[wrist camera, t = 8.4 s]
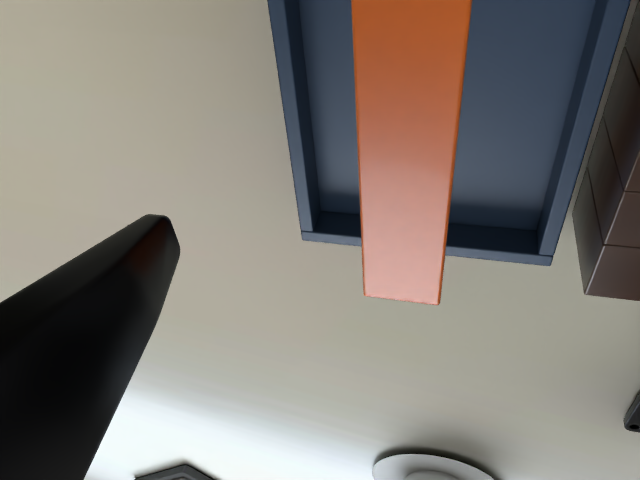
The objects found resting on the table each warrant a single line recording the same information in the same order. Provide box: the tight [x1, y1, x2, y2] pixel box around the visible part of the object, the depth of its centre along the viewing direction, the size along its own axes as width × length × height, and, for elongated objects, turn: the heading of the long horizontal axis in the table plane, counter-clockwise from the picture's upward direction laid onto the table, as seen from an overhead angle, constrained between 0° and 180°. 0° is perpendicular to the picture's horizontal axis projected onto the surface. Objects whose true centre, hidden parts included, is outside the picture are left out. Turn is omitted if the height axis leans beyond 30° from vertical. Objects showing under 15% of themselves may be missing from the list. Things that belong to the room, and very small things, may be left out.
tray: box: [267, 0, 631, 266], centre depth 17 cm, size 19×11×2 cm, turn 5°
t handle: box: [351, 0, 472, 305], centre depth 14 cm, size 8×2×9 cm, turn 5°
